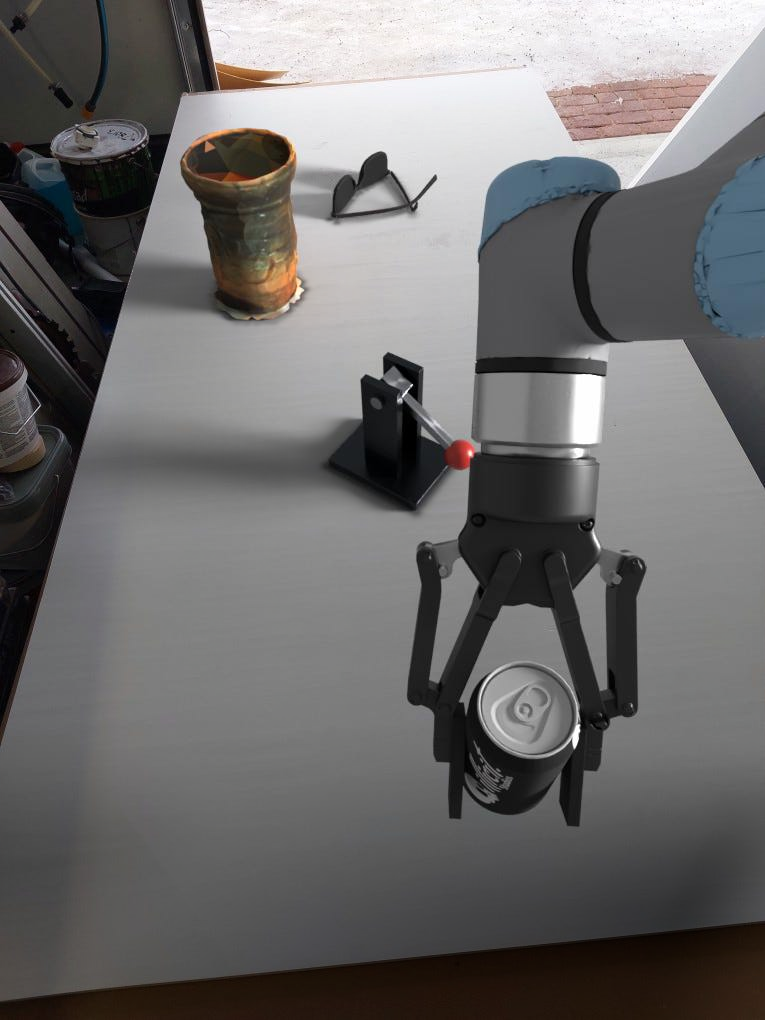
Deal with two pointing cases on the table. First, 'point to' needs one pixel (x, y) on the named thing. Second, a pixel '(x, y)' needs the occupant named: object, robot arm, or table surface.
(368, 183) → the sunglasses
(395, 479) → the bracket
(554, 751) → the beverage can
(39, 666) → the table surface
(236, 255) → the vessel
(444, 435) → the lever
